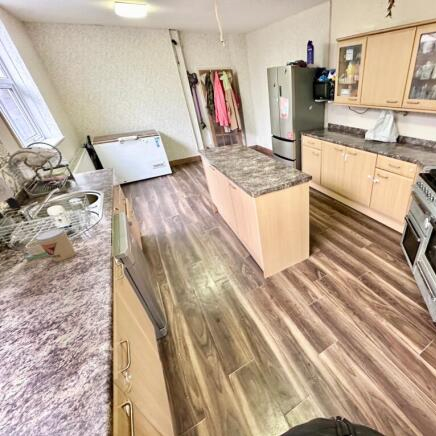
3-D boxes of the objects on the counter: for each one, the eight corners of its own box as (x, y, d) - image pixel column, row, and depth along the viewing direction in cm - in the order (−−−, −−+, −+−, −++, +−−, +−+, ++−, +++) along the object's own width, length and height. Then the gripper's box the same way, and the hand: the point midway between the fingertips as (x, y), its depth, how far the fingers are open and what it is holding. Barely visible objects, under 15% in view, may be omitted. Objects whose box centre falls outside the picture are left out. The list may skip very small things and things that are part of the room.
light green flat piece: (27, 260, 103) (23, 255, 102) (41, 247, 112) (38, 242, 110) (58, 254, 106) (54, 249, 104) (70, 242, 114) (66, 237, 113)
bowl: (27, 257, 103) (21, 249, 101) (37, 248, 109) (31, 240, 107) (46, 254, 104) (40, 245, 102) (55, 245, 110) (49, 237, 108)
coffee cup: (45, 262, 101) (28, 239, 96) (65, 249, 110) (51, 227, 104) (63, 263, 100) (48, 240, 94) (83, 249, 108) (69, 228, 102)
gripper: (-28, 180, 82) (3, 221, 91) (9, 166, 97) (32, 203, 105) (-55, 182, 81) (-21, 224, 89) (-14, 168, 95) (12, 206, 104)
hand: (8, 213), depth 97 cm, fingers open, 9 cm apart
